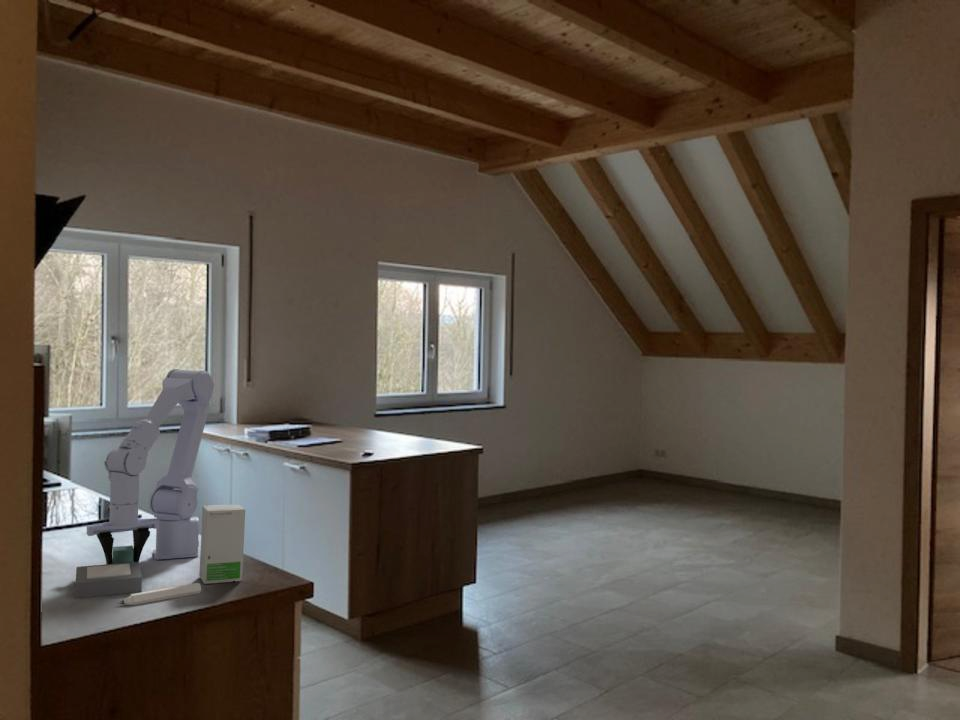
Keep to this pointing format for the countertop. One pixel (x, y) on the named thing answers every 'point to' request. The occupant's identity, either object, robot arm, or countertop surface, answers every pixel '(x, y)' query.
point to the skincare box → (222, 543)
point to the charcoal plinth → (108, 579)
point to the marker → (162, 594)
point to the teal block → (122, 554)
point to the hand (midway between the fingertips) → (122, 564)
